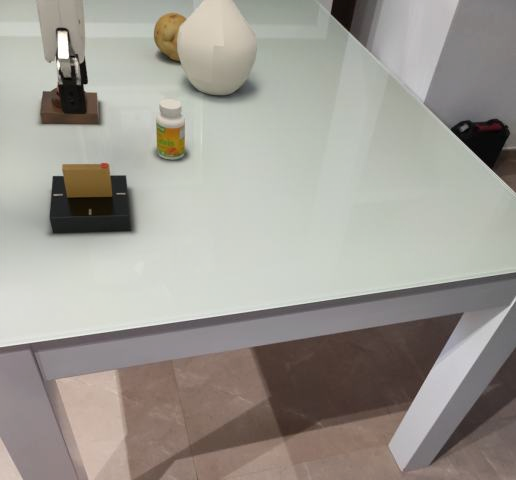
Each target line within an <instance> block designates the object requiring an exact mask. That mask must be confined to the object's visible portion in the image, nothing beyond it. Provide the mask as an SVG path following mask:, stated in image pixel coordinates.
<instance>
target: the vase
mask: <svg viewBox="0 0 516 480" xmlns="http://www.w3.org/2000/svg"><path fill="white" fill-rule="evenodd" d="M255 33H256V32H254V31H253V29H252V28H251V26H250V25H249V23H248V22H247V20H246V19H245V18H244V16H243V15H242V13H241V11H240V10H239V8H238V6H237V4H236V3H235V1H234V0H202V1H201V2H200V4H199V5H198V6H197V8H195V10H194V11H192V13H191V14H190V15H189V16H188V17H187V18H186V21H185V22H184V23H183V24H182V25H181V26H180V28H179V32H178V37H177V52H178V55H179V58H180V61H179V62H180V65H181V68H182V70H183V72H184V74H185V76H186V78H187V79H188V81H189V82H190V84H191V85H193V87H194V88H195V89H196V90H198V91H199V92H201V93H204V94H207V95H212V96H229V95H231V94H233V93H235V92H236V91H238V90H239V89H240V88H241V87H242V86H243V85H244V83H245V82H246V80H247V79H248V78H249V76H250V73H251V71H252V69H253V67H254V64H255V61H256V59H257V54H258V53H257V51H258V46H257V45H258V44H257V37H256V34H255Z"/></svg>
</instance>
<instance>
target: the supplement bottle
mask: <svg viewBox="0 0 516 480" xmlns="http://www.w3.org/2000/svg"><path fill="white" fill-rule="evenodd" d="M158 106H159V108H158V109H159V113H157V114H156V118H155V122H156V123H155V124H156V125H155V128H156V129H155V130H156V131H155V132H156V153H157V155H158V156H159V157H161V158H162V159H164V160H165V159H166V160H172V161H173V160H174V161H175V160H179V159H182V158H183V157H184V156H185V151H186V119H185V116H184V115H183V114H182V111H183V110H182V102H180V101H178V100H177V99H173V98H172V99H171V98H167V99H162V100H160V101H159V105H158Z"/></svg>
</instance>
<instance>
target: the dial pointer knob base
mask: <svg viewBox="0 0 516 480" xmlns="http://www.w3.org/2000/svg"><path fill="white" fill-rule="evenodd" d="M110 177H111V186H112V197H76V198H68V197H67V193H66V188H65V182H64V177H63V175H53V176H52V180H51V192H50V205H49V223H50V227H51V231H52V234H79V233H80V234H82V233H109V232H110V233H111V232H115V233H116V232H132V225H131V212H130V201H129V193H128V192H129V191H128V181H127V180H128V179H127V175H126V174H125V175H124V174H123V175H122V174H121V175H119V174H116V175H114V174H110Z"/></svg>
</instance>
